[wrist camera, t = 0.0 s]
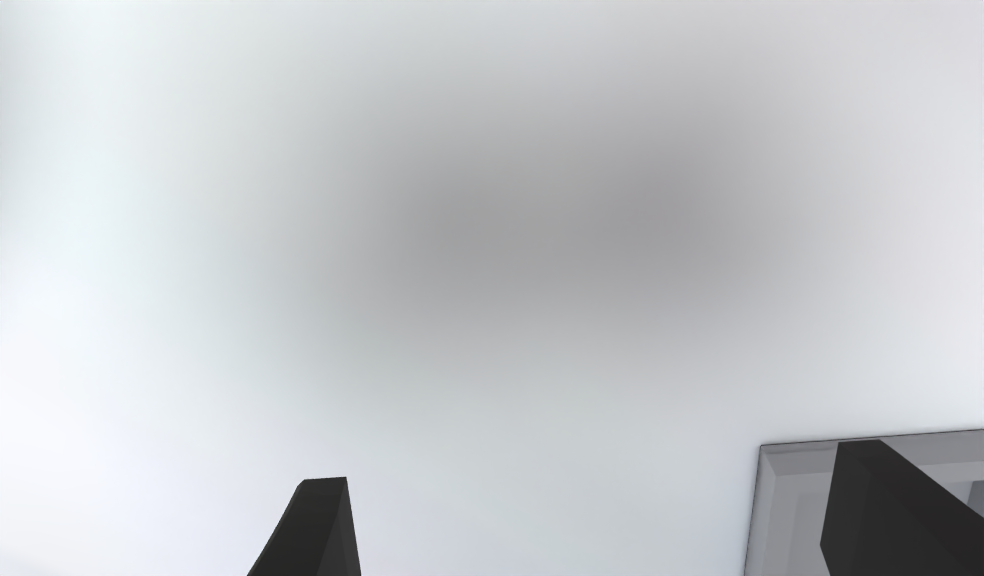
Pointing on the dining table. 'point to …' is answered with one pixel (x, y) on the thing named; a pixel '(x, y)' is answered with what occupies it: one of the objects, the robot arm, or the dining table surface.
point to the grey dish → (806, 484)
